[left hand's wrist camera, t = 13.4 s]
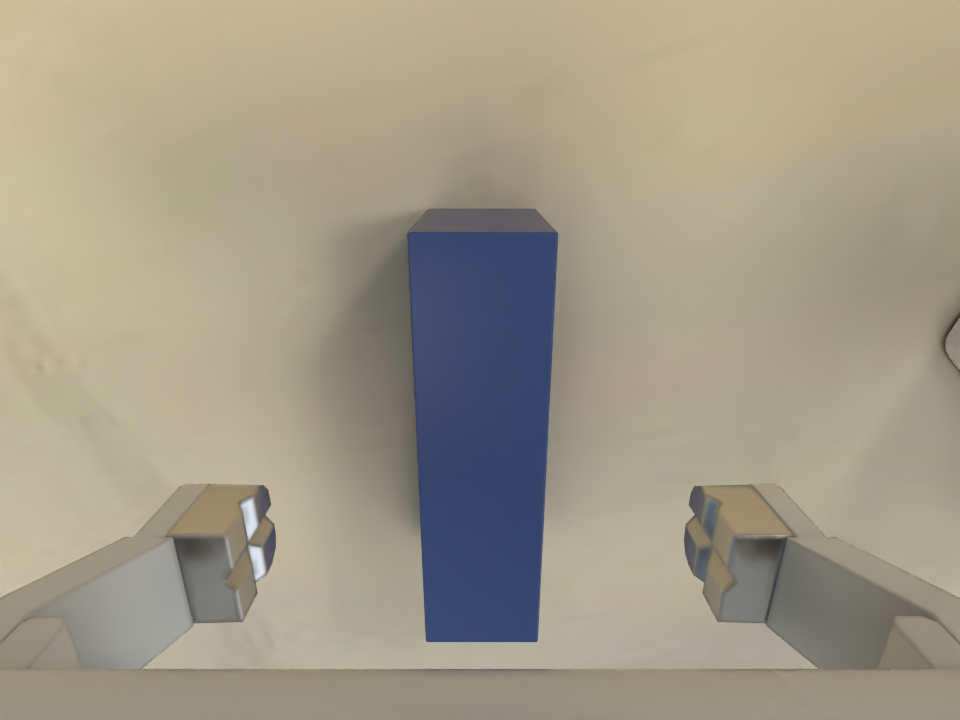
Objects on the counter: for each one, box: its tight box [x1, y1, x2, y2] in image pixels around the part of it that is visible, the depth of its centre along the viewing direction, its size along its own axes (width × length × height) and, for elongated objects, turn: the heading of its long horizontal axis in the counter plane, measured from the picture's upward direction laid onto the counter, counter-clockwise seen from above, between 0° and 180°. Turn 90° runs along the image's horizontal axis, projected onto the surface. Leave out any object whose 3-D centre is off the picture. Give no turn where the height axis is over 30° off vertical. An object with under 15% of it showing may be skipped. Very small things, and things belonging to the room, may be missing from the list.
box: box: [407, 209, 558, 642], centre depth 30 cm, size 22×6×9 cm, turn 0°
